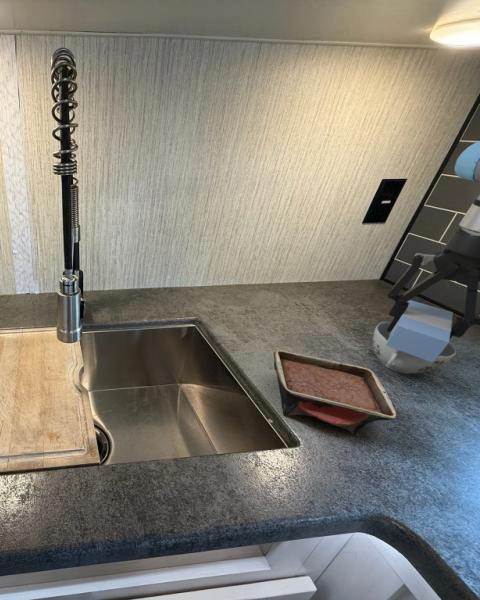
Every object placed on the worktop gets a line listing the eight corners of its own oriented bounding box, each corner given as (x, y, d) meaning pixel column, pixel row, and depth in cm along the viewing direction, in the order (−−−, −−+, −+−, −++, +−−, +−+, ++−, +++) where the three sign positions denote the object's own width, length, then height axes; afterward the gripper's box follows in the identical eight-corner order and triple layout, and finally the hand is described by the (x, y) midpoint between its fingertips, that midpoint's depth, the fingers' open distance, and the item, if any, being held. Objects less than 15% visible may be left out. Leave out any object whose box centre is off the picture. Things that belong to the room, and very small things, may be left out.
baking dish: (369, 458, 53) (411, 421, 48) (260, 411, 58) (288, 372, 53) (345, 402, 65) (377, 367, 60) (256, 367, 70) (278, 332, 65)
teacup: (375, 341, 78) (392, 314, 74) (442, 372, 69) (466, 344, 64) (344, 361, 72) (361, 333, 67) (414, 398, 62) (438, 369, 58)
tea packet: (396, 317, 72) (408, 299, 70) (438, 331, 68) (453, 312, 65) (385, 345, 64) (398, 325, 61) (433, 363, 59) (449, 342, 57)
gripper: (408, 223, 58) (351, 323, 70) (591, 255, 45) (484, 371, 57) (413, 216, 62) (359, 311, 74) (581, 243, 50) (483, 353, 62)
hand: (413, 337), depth 66 cm, fingers closed on tea packet, 7 cm apart
